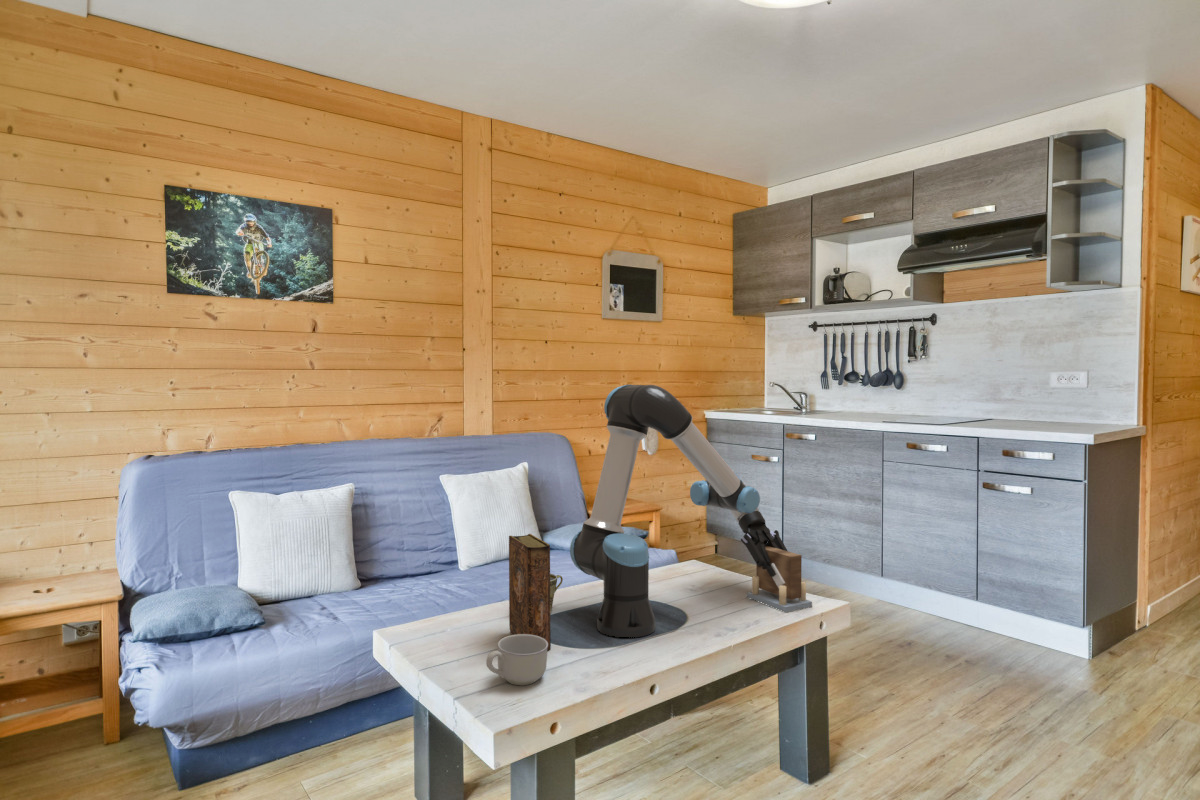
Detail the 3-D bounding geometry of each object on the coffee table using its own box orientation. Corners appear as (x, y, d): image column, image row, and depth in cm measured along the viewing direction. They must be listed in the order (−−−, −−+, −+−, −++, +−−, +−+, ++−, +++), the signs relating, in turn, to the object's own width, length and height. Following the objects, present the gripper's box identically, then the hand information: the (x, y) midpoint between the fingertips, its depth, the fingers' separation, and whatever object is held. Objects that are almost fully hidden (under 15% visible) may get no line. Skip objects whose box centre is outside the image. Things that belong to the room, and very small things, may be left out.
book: (552, 651, 164) (551, 546, 163) (530, 655, 161) (529, 548, 161) (529, 629, 178) (529, 532, 178) (509, 632, 176) (508, 534, 176)
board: (756, 587, 205) (756, 546, 205) (766, 585, 207) (766, 545, 207) (790, 599, 193) (791, 556, 193) (801, 597, 195) (801, 555, 195)
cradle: (746, 597, 204) (746, 575, 204) (771, 592, 209) (771, 571, 209) (785, 612, 191) (785, 589, 190) (811, 606, 195) (812, 584, 195)
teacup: (536, 665, 155) (536, 630, 155) (556, 683, 146) (556, 646, 145) (476, 678, 148) (476, 641, 148) (493, 698, 139) (493, 658, 139)
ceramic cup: (535, 621, 184) (534, 584, 184) (514, 612, 192) (514, 576, 192) (573, 611, 193) (573, 575, 192) (551, 603, 200) (551, 568, 200)
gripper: (763, 521, 217) (802, 586, 203) (721, 526, 209) (758, 595, 195) (775, 507, 212) (816, 573, 198) (732, 512, 204) (772, 581, 190)
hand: (787, 584), depth 197 cm, fingers closed on board, 4 cm apart
